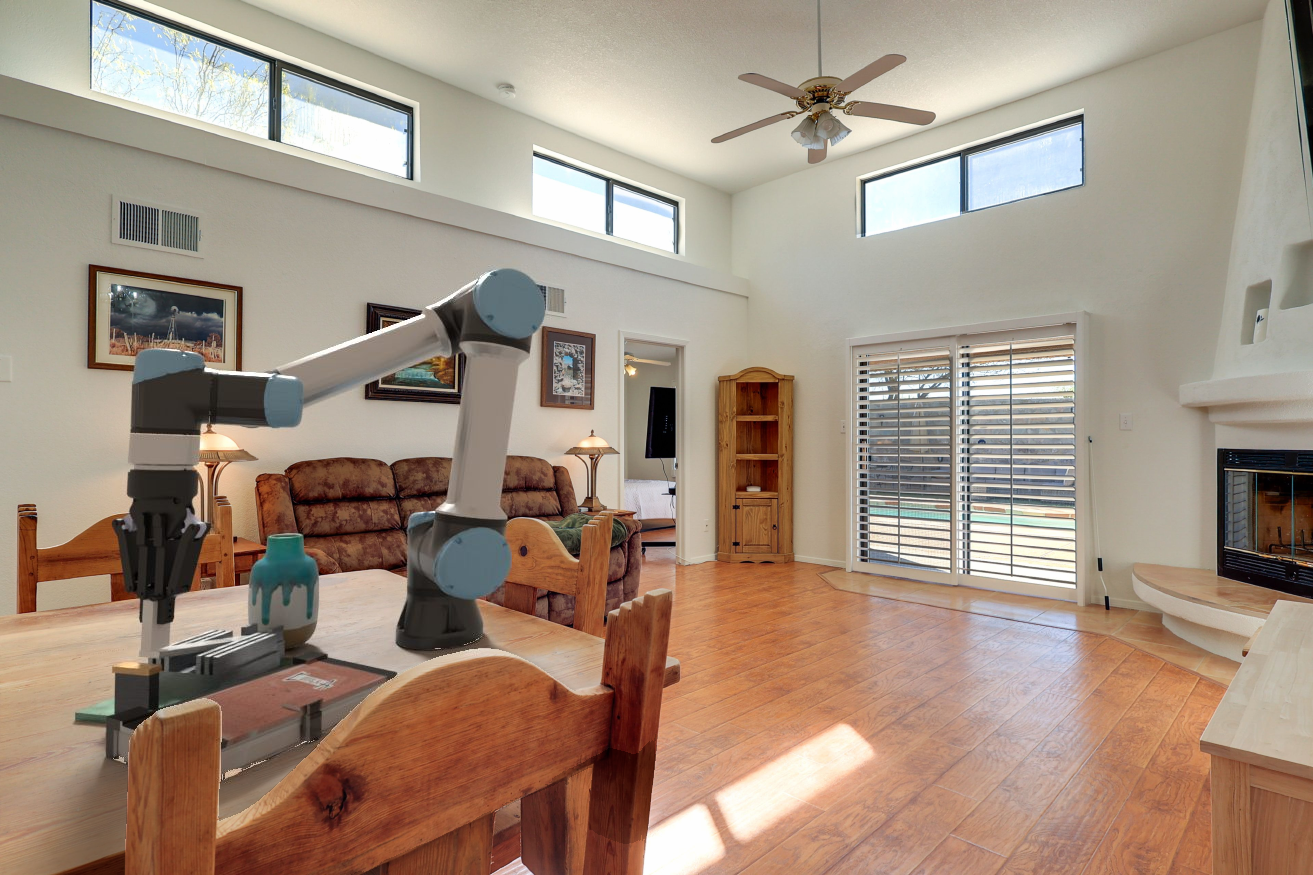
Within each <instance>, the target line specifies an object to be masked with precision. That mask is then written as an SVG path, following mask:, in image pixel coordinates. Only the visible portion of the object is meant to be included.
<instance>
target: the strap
mask: <svg viewBox="0 0 1313 875" xmlns="http://www.w3.org/2000/svg"><path fill="white" fill-rule="evenodd" d="M252 635H253V634H252ZM247 636H250V635H245V636H241V635H239V636H233V637H231V638H224V639H217V640H210V641H202V642H195V643H188V644H181V645H174V646H167V647H164V648H161V649H158V650H155V651H152V652H147V651H141V649H140V650H139V653H138V658H147V659H148V658H165V657H171V656H177V655H183V654H190V653H196V652H202V651H209V650H213V649H215V648H218V647H221V646H223V645H226V644H229V643H231V642H234V641H237V640H239V639H242V638H245V637H247Z"/></svg>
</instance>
